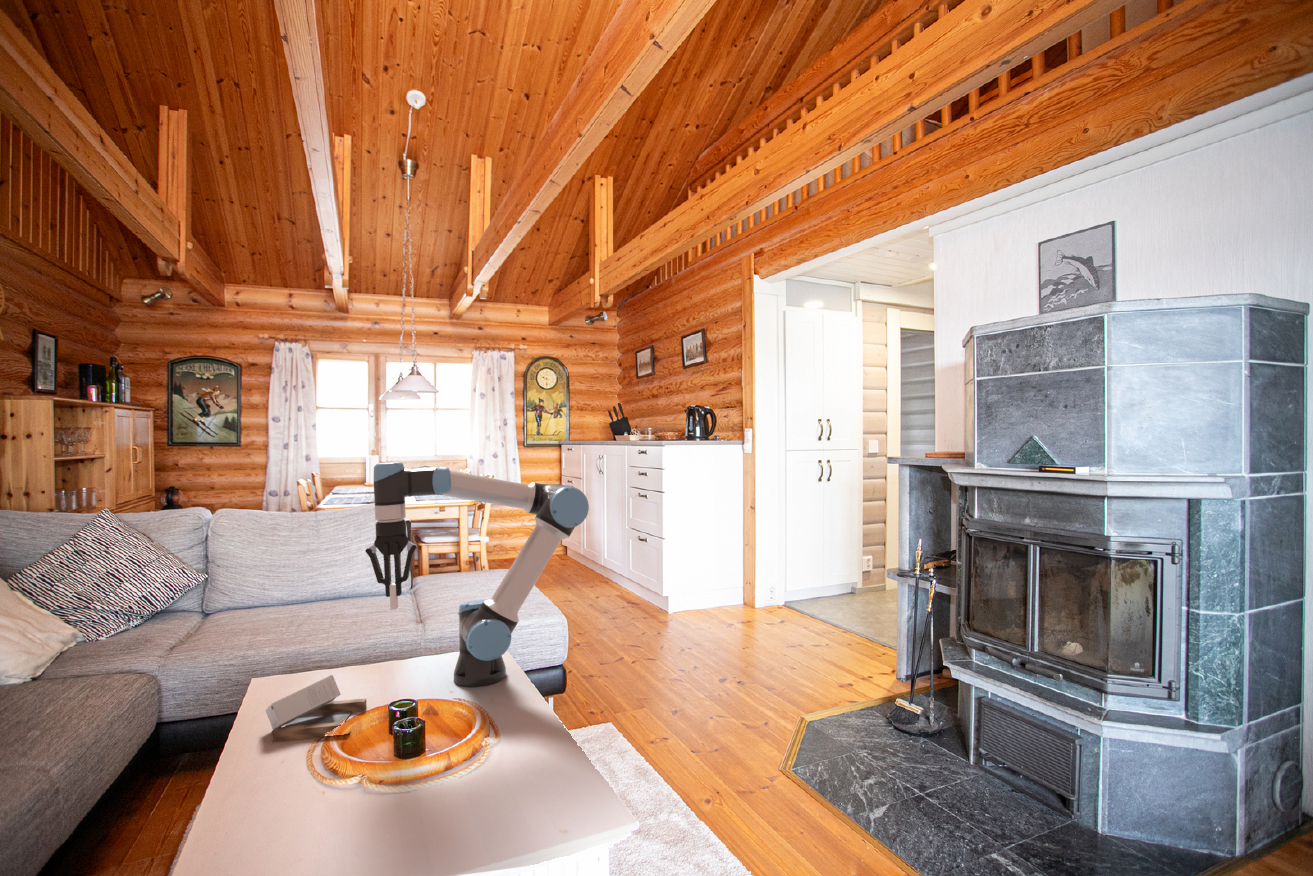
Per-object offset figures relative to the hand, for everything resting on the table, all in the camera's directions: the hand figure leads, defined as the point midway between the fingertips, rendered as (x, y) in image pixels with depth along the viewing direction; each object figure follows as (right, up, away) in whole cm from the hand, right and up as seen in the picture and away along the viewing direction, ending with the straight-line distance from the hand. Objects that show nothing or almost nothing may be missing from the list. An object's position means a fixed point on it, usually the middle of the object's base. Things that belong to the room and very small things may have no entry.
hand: (394, 608), depth 168 cm
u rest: (-15, -27, -9) cm, 32 cm away
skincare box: (-15, -20, -3) cm, 25 cm away
